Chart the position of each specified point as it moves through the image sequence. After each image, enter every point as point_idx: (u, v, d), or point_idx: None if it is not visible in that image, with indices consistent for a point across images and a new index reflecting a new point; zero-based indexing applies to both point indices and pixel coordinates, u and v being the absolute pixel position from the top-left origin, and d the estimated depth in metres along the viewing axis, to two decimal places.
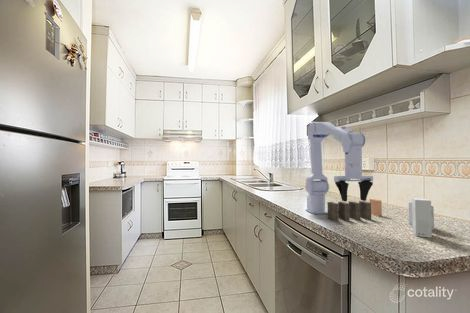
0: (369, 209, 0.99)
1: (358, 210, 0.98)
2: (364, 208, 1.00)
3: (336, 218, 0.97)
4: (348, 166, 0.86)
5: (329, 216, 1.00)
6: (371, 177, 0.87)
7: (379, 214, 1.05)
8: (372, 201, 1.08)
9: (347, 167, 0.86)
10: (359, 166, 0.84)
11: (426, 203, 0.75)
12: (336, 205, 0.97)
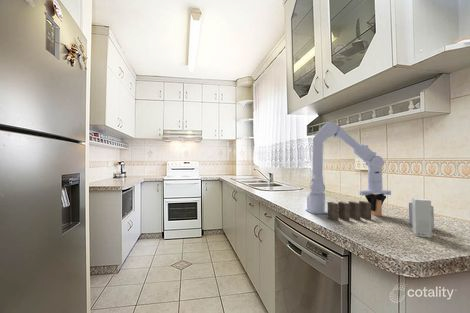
0: (369, 209, 0.99)
1: (358, 210, 0.98)
2: (364, 208, 1.00)
3: (336, 218, 0.97)
4: (371, 183, 1.06)
5: (329, 216, 1.00)
6: (389, 191, 1.07)
7: (379, 214, 1.05)
8: None
9: (370, 183, 1.07)
10: (380, 183, 1.05)
11: (426, 203, 0.75)
12: (336, 205, 0.97)
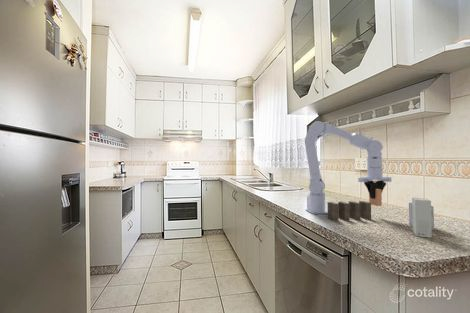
0: (369, 209, 0.99)
1: (358, 210, 0.98)
2: (364, 208, 1.00)
3: (336, 218, 0.97)
4: (370, 169, 1.01)
5: (329, 216, 1.00)
6: (390, 178, 1.02)
7: (379, 204, 1.00)
8: None
9: (369, 170, 1.01)
10: (380, 169, 1.00)
11: (426, 203, 0.75)
12: (336, 205, 0.97)
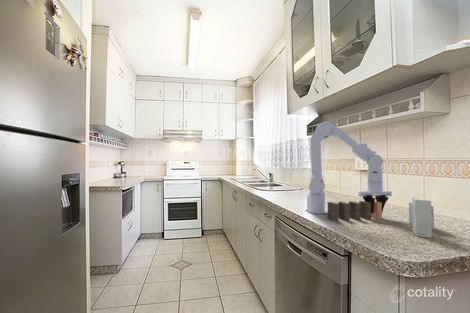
0: (369, 209, 0.99)
1: (358, 210, 0.98)
2: (364, 208, 1.00)
3: (336, 218, 0.97)
4: (371, 183, 1.01)
5: (329, 216, 1.00)
6: (390, 192, 1.02)
7: (379, 217, 0.99)
8: None
9: (370, 184, 1.01)
10: (380, 183, 1.00)
11: (426, 203, 0.75)
12: (336, 205, 0.97)
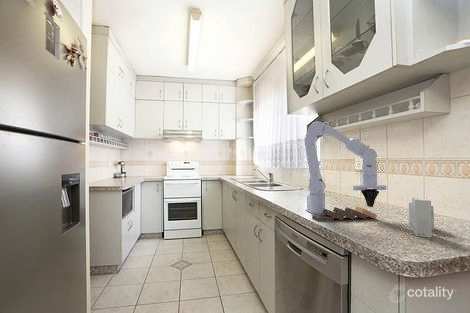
0: (358, 213, 0.98)
1: (346, 213, 0.97)
2: None
3: (331, 219, 0.97)
4: (365, 177, 1.01)
5: None
6: (385, 186, 1.02)
7: (375, 216, 0.99)
8: None
9: (364, 178, 1.01)
10: (375, 177, 0.99)
11: (426, 203, 0.75)
12: (318, 219, 0.96)
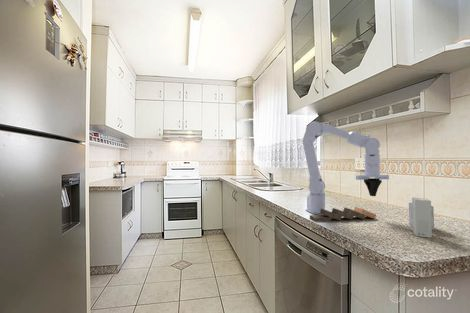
0: (356, 213, 0.98)
1: (345, 214, 0.97)
2: None
3: (329, 219, 0.96)
4: (368, 166, 1.01)
5: None
6: (387, 176, 1.02)
7: (374, 216, 0.99)
8: None
9: (367, 167, 1.01)
10: (378, 166, 1.00)
11: (426, 203, 0.75)
12: (316, 219, 0.96)
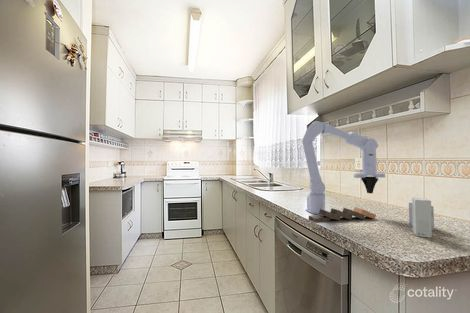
0: (356, 213, 0.98)
1: (344, 214, 0.97)
2: None
3: (328, 219, 0.96)
4: (365, 165, 1.07)
5: None
6: (383, 174, 1.08)
7: (373, 216, 0.99)
8: None
9: (364, 166, 1.08)
10: (374, 165, 1.06)
11: (426, 203, 0.75)
12: (316, 220, 0.95)
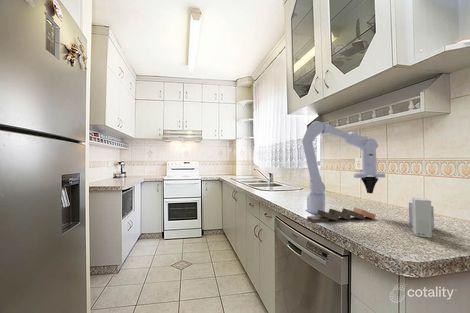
0: (355, 214, 0.98)
1: (342, 214, 0.97)
2: None
3: (326, 220, 0.96)
4: (365, 165, 1.07)
5: None
6: (383, 174, 1.08)
7: (373, 216, 0.99)
8: (357, 212, 1.01)
9: (364, 166, 1.08)
10: (374, 165, 1.06)
11: (426, 203, 0.75)
12: (315, 220, 0.94)
